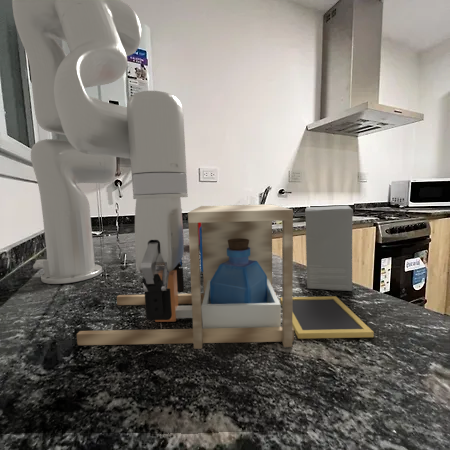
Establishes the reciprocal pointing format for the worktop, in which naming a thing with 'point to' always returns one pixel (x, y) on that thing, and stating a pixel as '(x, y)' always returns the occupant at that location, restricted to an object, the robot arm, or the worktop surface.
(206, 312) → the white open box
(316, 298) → the yellow framed grey pad
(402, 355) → the worktop surface
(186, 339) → the track
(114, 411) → the worktop surface
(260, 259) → the tunnel
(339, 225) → the skincare box
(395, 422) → the worktop surface
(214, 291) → the perfume bottle
